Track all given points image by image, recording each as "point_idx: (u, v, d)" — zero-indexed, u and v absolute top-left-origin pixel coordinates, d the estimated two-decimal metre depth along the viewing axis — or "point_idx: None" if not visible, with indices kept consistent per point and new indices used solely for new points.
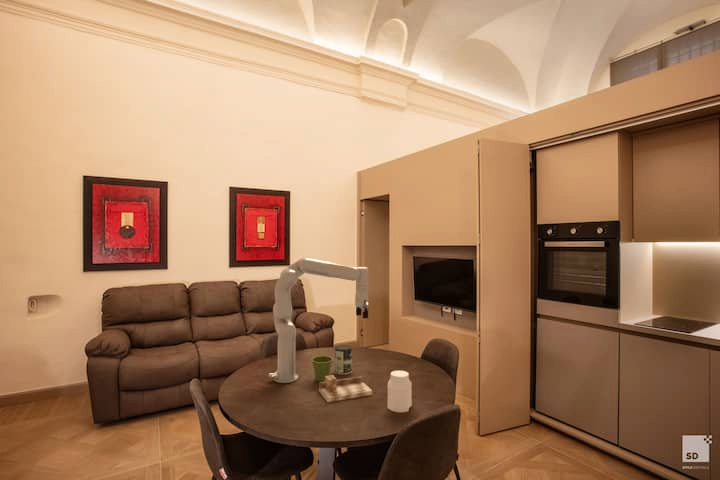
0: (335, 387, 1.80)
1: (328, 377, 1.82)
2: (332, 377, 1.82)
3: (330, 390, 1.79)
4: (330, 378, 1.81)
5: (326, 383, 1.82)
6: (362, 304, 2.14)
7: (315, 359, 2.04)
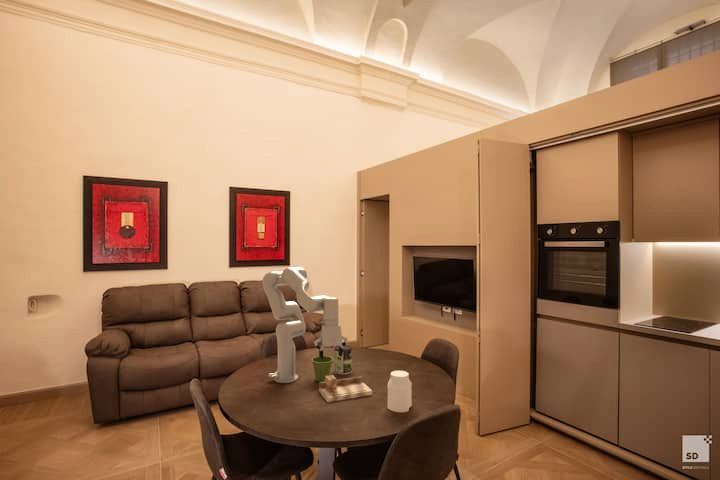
0: (335, 387, 1.80)
1: (328, 377, 1.82)
2: (332, 377, 1.82)
3: (330, 390, 1.79)
4: (330, 378, 1.81)
5: (326, 383, 1.82)
6: (341, 340, 1.83)
7: (315, 359, 2.04)
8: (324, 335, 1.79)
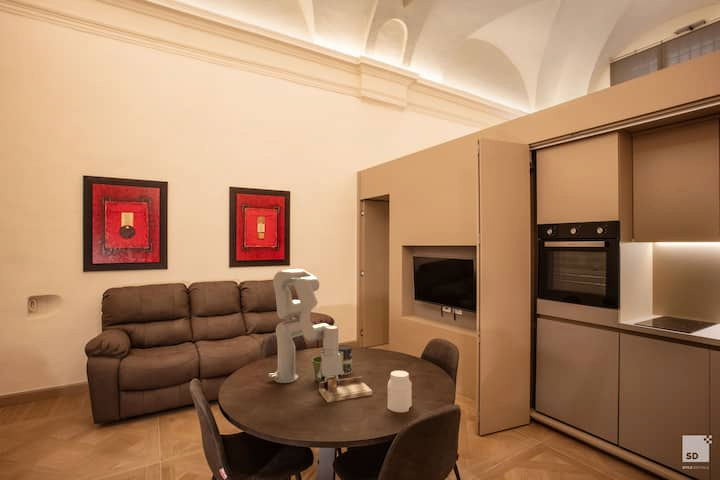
0: (335, 387, 1.80)
1: (328, 377, 1.82)
2: (332, 377, 1.82)
3: (330, 390, 1.79)
4: (330, 378, 1.81)
5: None
6: (341, 369, 1.82)
7: (315, 359, 2.04)
8: (324, 365, 1.78)
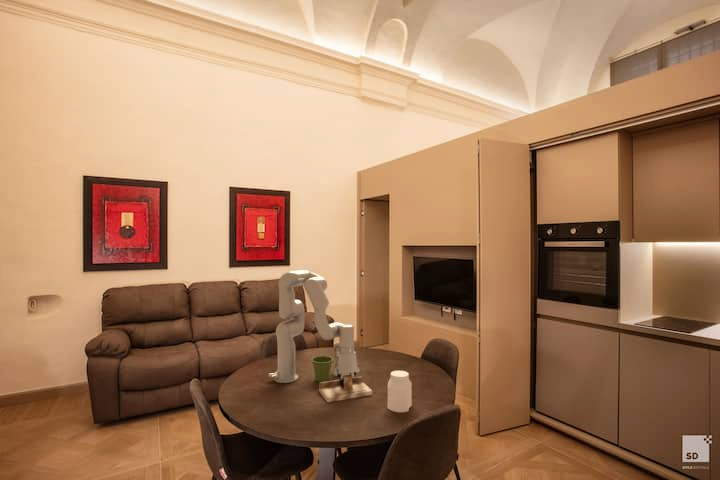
0: (351, 384, 1.83)
1: (344, 375, 1.85)
2: (348, 375, 1.85)
3: (346, 387, 1.82)
4: (346, 376, 1.84)
5: None
6: (357, 367, 1.85)
7: (315, 359, 2.04)
8: (340, 362, 1.82)
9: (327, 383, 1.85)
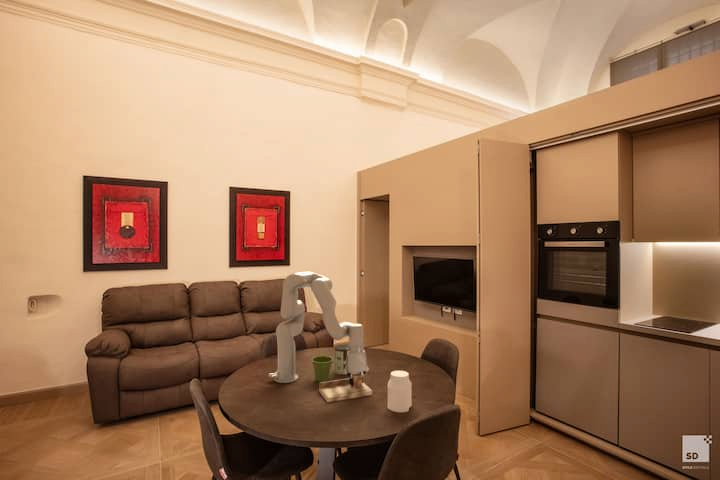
0: (360, 383, 1.85)
1: (353, 373, 1.87)
2: (357, 373, 1.87)
3: (356, 386, 1.84)
4: (355, 374, 1.86)
5: None
6: (366, 366, 1.87)
7: (315, 359, 2.04)
8: (350, 361, 1.83)
9: (327, 383, 1.85)
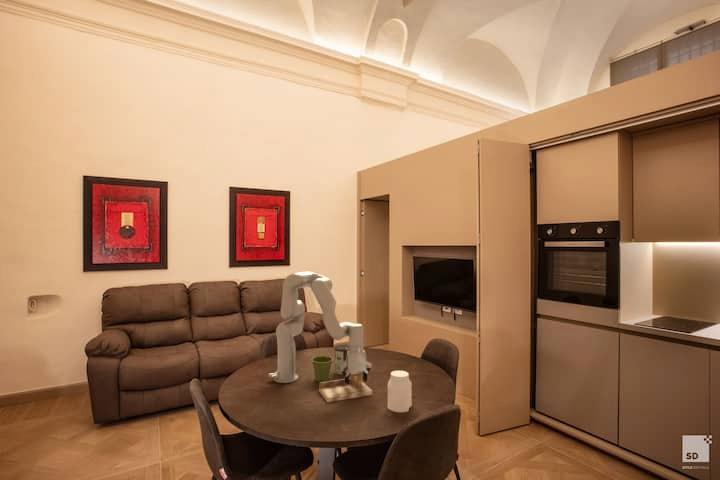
0: (361, 383, 1.85)
1: (353, 373, 1.87)
2: (357, 373, 1.87)
3: (356, 386, 1.84)
4: (356, 374, 1.86)
5: (351, 379, 1.87)
6: (366, 366, 1.87)
7: (315, 359, 2.04)
8: (350, 361, 1.83)
9: (327, 383, 1.85)
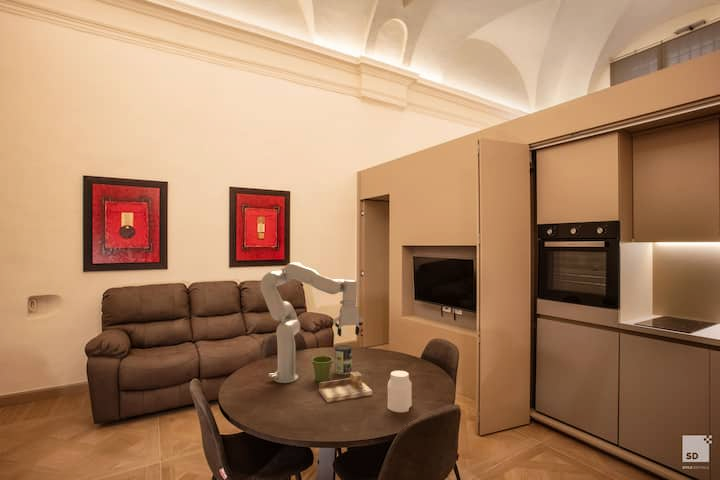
0: (361, 383, 1.85)
1: (353, 373, 1.87)
2: (357, 373, 1.87)
3: (356, 386, 1.84)
4: (356, 374, 1.86)
5: (351, 379, 1.87)
6: (358, 320, 1.97)
7: (315, 359, 2.04)
8: (343, 314, 1.93)
9: (327, 383, 1.85)
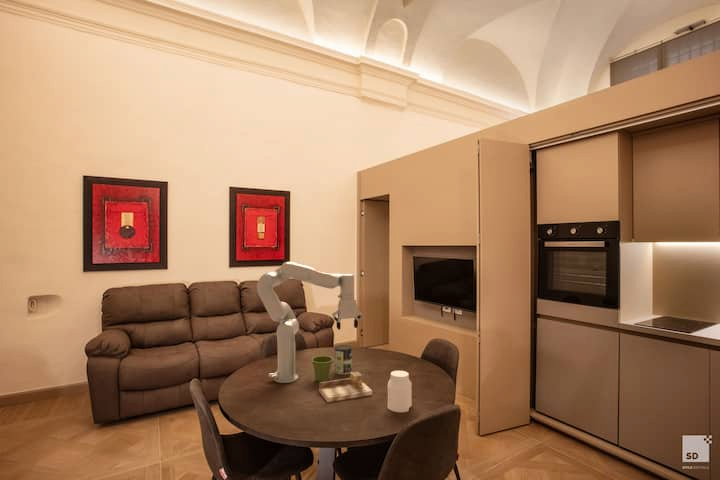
0: (361, 383, 1.85)
1: (353, 373, 1.87)
2: (357, 373, 1.87)
3: (356, 386, 1.84)
4: (356, 374, 1.86)
5: (351, 379, 1.87)
6: None
7: (315, 359, 2.04)
8: (341, 308, 1.96)
9: (327, 383, 1.85)
